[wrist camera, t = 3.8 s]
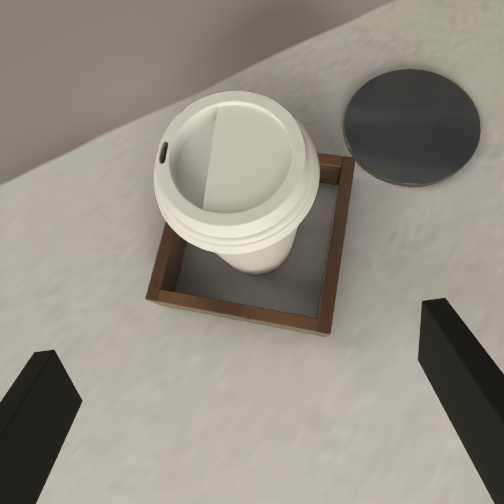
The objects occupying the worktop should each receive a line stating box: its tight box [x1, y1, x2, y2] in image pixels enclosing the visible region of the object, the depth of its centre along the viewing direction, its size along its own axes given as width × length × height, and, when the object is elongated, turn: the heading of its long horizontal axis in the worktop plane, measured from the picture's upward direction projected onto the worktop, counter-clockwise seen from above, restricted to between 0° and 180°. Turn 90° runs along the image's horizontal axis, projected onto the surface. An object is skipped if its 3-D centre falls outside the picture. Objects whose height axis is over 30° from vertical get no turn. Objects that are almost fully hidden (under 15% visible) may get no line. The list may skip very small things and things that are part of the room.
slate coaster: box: [343, 69, 480, 187], centre depth 35 cm, size 12×12×1 cm
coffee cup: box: [153, 91, 320, 275], centre depth 27 cm, size 10×10×15 cm
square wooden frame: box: [146, 153, 355, 337], centre depth 33 cm, size 15×15×4 cm
